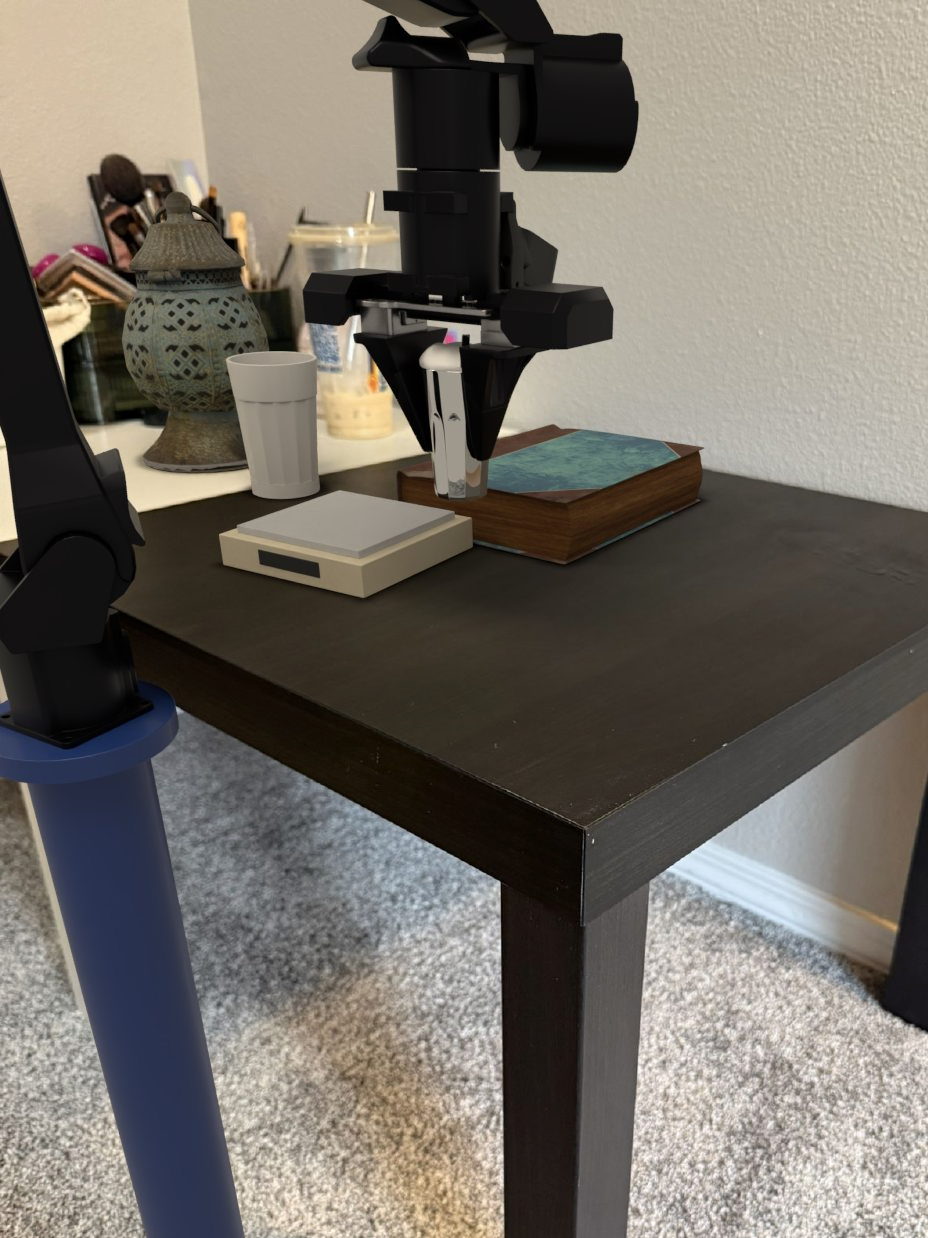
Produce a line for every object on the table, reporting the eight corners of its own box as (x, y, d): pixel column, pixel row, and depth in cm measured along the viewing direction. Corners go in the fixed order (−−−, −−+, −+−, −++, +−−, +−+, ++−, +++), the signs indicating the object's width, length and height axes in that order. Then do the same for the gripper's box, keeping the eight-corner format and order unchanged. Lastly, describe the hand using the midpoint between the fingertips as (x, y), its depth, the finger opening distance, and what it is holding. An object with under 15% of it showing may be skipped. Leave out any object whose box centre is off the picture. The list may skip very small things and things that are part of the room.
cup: (338, 480, 107) (327, 352, 101) (314, 502, 100) (300, 366, 94) (260, 477, 107) (244, 350, 102) (230, 499, 100) (212, 363, 95)
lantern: (114, 457, 114) (64, 190, 102) (225, 434, 124) (192, 188, 112) (196, 479, 106) (153, 193, 95) (308, 453, 116) (281, 191, 105)
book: (549, 473, 110) (550, 422, 108) (703, 501, 102) (707, 447, 99) (398, 526, 94) (395, 468, 91) (567, 565, 85) (568, 503, 83)
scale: (363, 599, 78) (360, 557, 77) (222, 565, 84) (216, 526, 83) (473, 547, 89) (472, 510, 87) (341, 520, 95) (337, 485, 94)
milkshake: (432, 510, 66) (425, 334, 61) (420, 487, 70) (413, 322, 65) (505, 506, 67) (505, 333, 62) (489, 483, 71) (487, 321, 66)
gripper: (665, 174, 62) (650, 451, 69) (406, 168, 70) (418, 416, 78) (564, 173, 53) (559, 488, 61) (284, 167, 62) (309, 444, 69)
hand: (456, 455), depth 67 cm, fingers closed on milkshake, 4 cm apart
